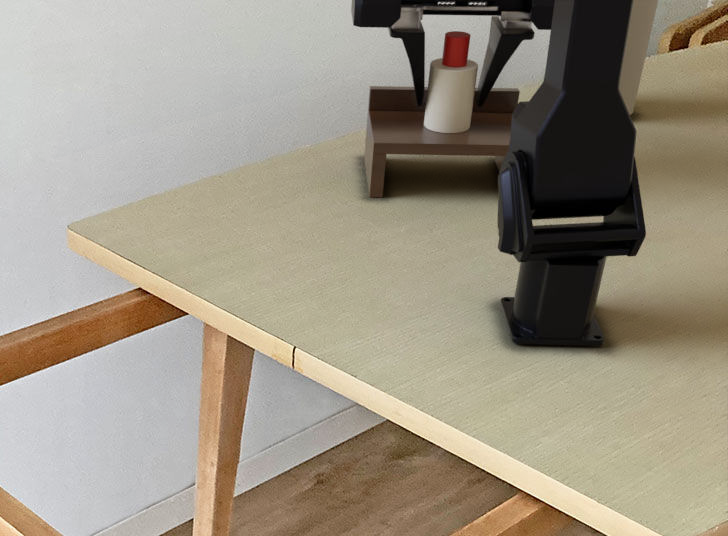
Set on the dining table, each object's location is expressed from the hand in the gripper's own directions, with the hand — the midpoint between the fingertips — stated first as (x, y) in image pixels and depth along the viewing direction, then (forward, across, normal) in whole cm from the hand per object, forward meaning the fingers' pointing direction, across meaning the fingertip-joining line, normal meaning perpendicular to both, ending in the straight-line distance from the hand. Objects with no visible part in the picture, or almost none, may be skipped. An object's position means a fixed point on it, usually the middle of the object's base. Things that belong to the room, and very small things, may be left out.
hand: (449, 105), depth 98 cm
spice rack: (+7, 0, 0) cm, 7 cm away
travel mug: (+7, -19, -21) cm, 29 cm away
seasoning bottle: (+2, 0, 0) cm, 2 cm away
